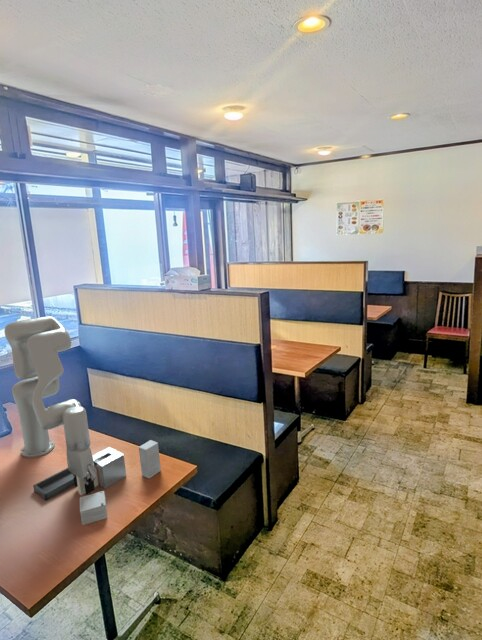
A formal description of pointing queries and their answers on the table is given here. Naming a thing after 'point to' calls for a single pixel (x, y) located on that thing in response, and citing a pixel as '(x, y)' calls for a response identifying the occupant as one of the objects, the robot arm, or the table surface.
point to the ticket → (81, 481)
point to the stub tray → (54, 484)
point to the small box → (93, 507)
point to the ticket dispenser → (109, 466)
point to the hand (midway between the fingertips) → (84, 488)
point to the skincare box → (149, 459)
